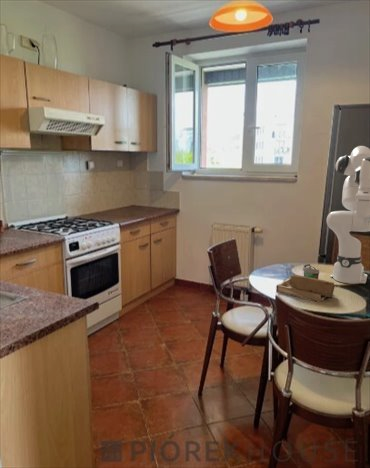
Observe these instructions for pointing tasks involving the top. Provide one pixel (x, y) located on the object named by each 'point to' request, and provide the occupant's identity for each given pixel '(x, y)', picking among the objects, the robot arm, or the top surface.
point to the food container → (310, 271)
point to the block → (312, 285)
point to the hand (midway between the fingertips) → (366, 225)
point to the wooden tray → (297, 291)
